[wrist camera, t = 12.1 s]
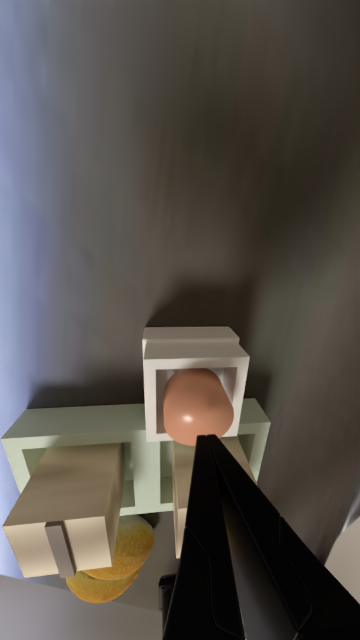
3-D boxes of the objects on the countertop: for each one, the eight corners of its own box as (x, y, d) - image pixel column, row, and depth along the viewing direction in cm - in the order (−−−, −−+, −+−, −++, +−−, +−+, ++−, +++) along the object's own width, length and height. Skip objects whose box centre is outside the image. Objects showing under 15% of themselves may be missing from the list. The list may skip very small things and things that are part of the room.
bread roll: (162, 509, 21) (163, 566, 17) (135, 557, 23) (130, 616, 19) (82, 498, 19) (63, 559, 15) (61, 551, 21) (40, 615, 18)
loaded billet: (225, 464, 18) (252, 553, 13) (171, 468, 18) (176, 563, 12) (231, 422, 17) (265, 504, 11) (172, 426, 16) (178, 513, 11)
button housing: (220, 394, 16) (239, 438, 12) (146, 398, 16) (143, 444, 12) (228, 326, 14) (253, 353, 10) (144, 327, 14) (139, 356, 10)
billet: (126, 472, 17) (111, 571, 12) (66, 477, 17) (22, 583, 11) (122, 428, 16) (103, 521, 10) (55, 432, 15) (-1, 531, 10)
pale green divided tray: (240, 471, 20) (252, 502, 17) (48, 488, 18) (31, 525, 15) (254, 398, 17) (270, 422, 14) (25, 409, 15) (0, 438, 12)
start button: (219, 414, 13) (230, 443, 11) (162, 418, 12) (163, 448, 10) (225, 365, 11) (238, 388, 10) (163, 367, 11) (163, 391, 9)
